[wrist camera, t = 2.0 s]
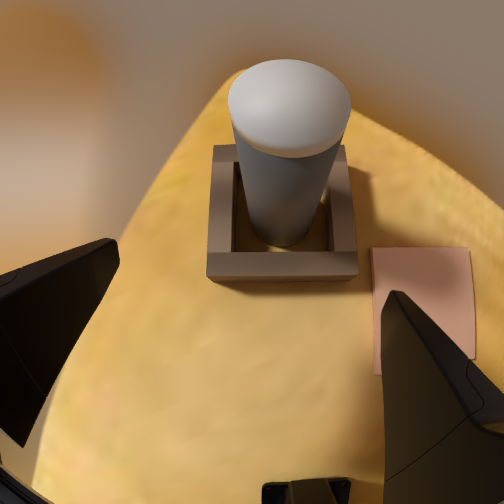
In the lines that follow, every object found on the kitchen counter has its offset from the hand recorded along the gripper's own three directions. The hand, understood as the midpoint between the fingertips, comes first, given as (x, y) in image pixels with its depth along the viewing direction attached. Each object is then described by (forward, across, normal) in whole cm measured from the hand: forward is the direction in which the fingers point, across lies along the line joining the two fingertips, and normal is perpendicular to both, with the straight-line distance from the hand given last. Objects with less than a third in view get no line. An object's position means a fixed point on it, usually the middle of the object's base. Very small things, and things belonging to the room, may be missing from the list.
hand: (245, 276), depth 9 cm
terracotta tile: (+10, -12, +7) cm, 17 cm away
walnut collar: (+13, 0, +4) cm, 14 cm away
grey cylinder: (+13, 0, +4) cm, 14 cm away
